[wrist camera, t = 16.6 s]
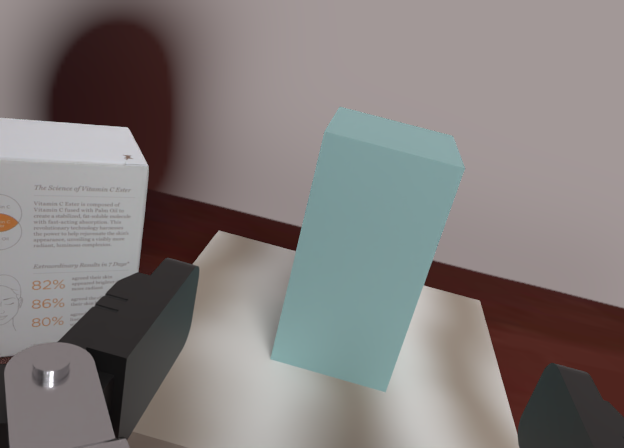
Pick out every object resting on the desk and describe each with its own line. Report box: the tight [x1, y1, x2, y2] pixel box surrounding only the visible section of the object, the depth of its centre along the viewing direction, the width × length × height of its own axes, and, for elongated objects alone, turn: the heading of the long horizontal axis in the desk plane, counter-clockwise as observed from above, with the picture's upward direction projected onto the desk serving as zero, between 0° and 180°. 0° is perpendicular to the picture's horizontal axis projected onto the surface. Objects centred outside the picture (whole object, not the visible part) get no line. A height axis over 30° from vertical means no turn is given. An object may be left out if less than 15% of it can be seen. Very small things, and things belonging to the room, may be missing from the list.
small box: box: [0, 118, 149, 357], centre depth 28 cm, size 8×6×10 cm
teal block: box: [270, 107, 465, 392], centre depth 23 cm, size 5×5×10 cm
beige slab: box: [127, 231, 519, 448], centre depth 26 cm, size 16×16×5 cm
